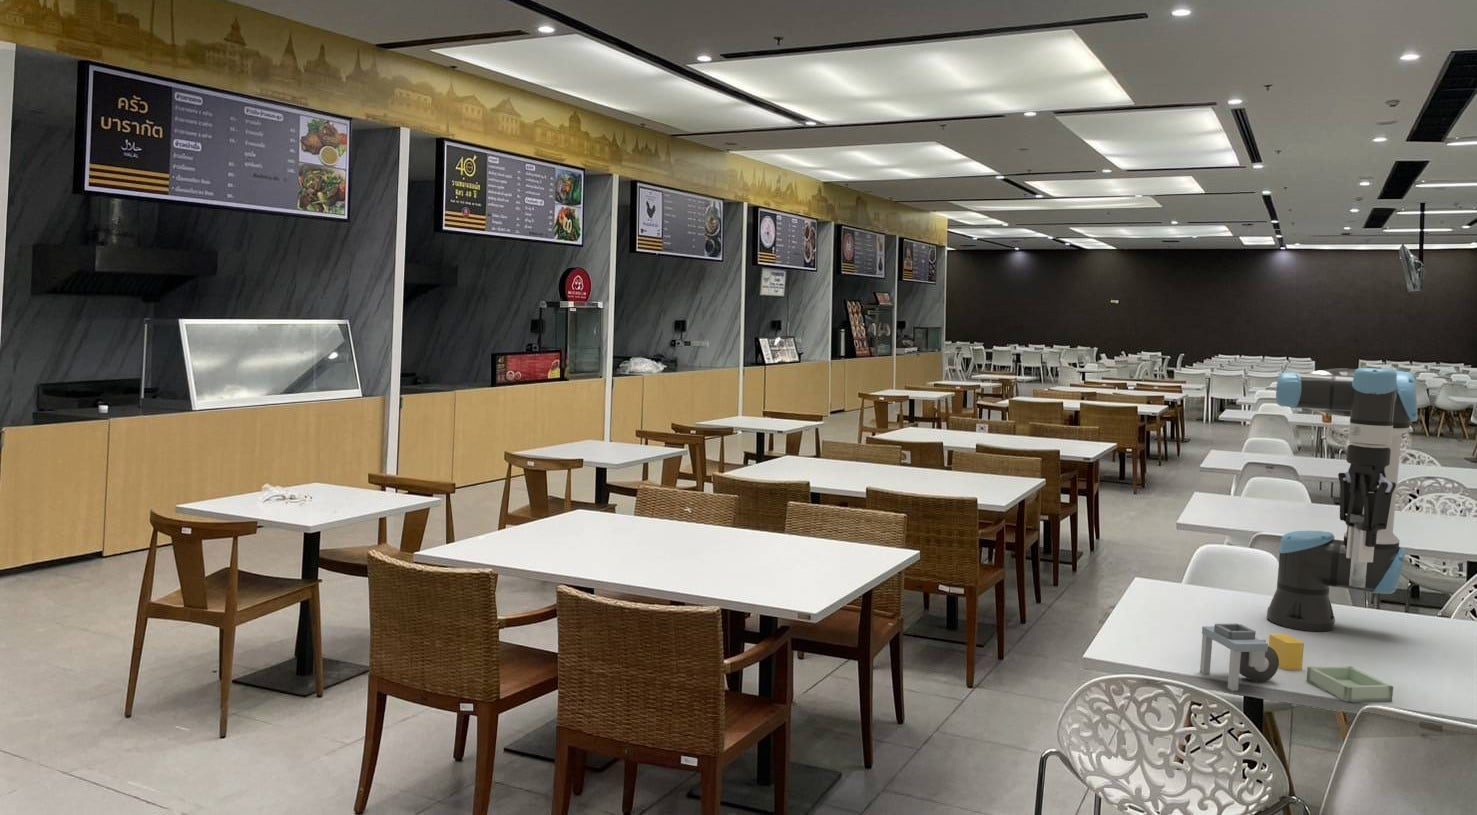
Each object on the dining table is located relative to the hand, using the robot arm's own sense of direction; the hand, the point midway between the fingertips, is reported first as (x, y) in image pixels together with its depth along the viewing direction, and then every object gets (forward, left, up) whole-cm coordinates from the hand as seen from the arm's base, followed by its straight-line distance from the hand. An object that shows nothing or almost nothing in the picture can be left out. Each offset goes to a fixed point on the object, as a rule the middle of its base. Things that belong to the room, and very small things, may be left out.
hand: (1359, 559), depth 213 cm
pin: (0, 0, -5) cm, 5 cm away
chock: (+3, -16, -28) cm, 32 cm away
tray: (0, 0, -27) cm, 27 cm away
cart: (+18, -7, -27) cm, 34 cm away
